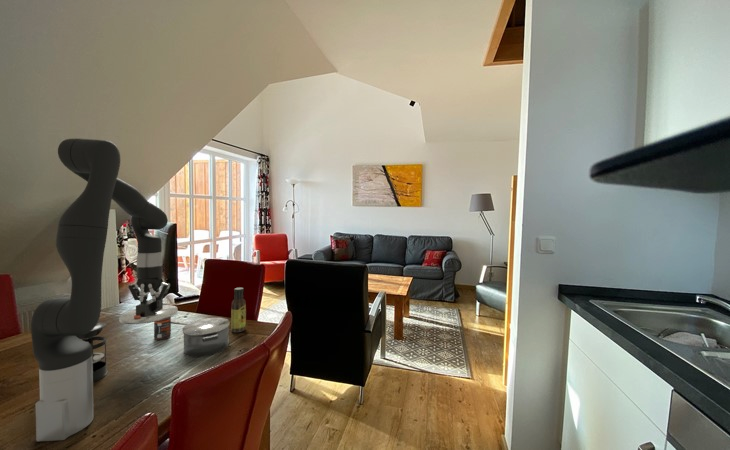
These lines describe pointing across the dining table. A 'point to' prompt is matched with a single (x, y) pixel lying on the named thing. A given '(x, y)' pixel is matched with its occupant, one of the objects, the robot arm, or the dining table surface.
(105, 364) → the french press
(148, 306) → the cooker lid
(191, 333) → the cooker pot
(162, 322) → the supplement bottle
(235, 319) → the sauce bottle
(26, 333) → the dining table surface
